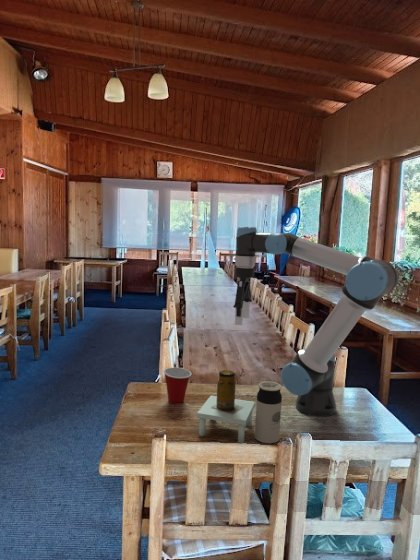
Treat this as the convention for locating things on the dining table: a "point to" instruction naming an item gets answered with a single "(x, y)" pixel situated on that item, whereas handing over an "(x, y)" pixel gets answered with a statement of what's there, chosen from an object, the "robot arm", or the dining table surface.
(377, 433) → the dining table surface
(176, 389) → the plastic cup
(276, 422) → the travel mug
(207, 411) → the stool
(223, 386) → the condiment
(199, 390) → the dining table surface
